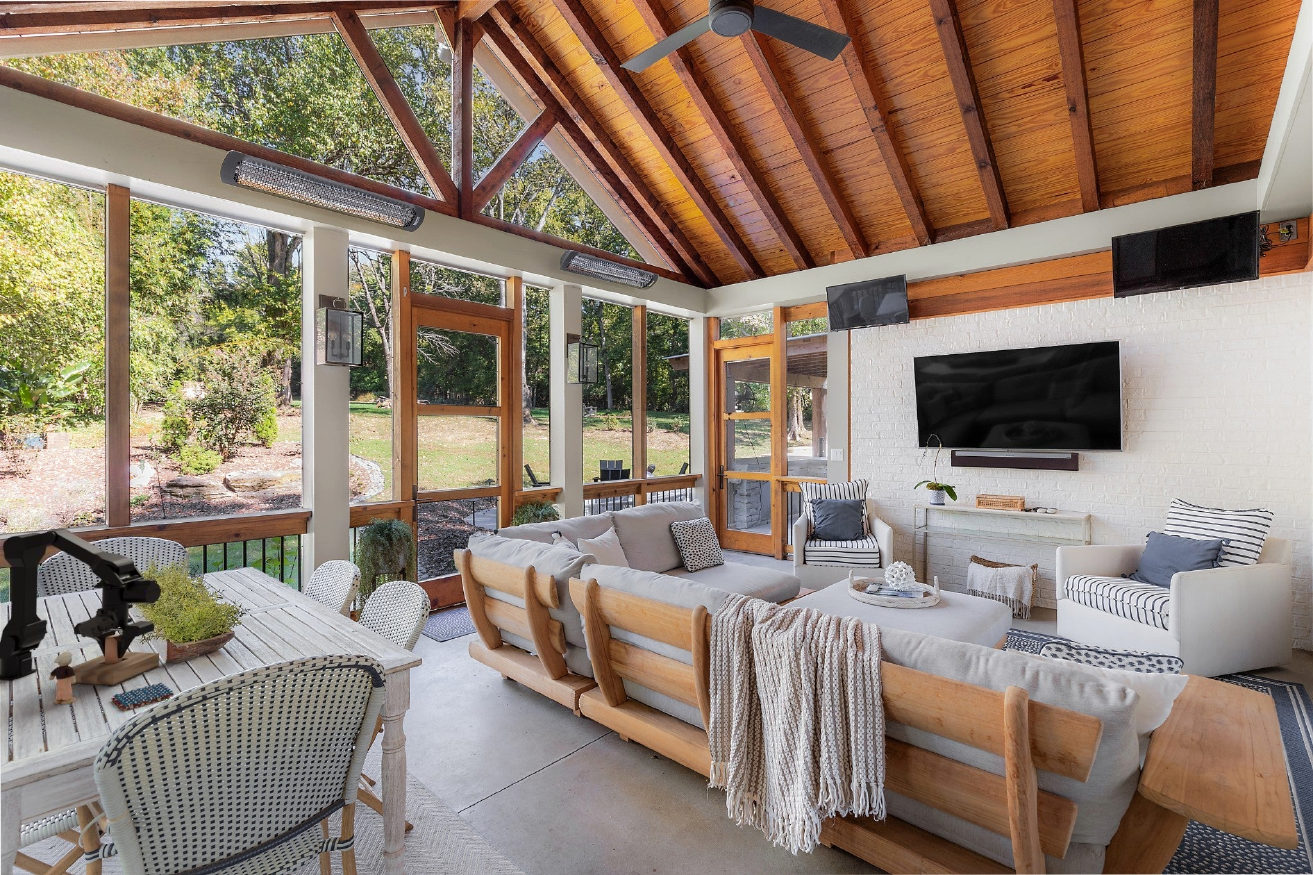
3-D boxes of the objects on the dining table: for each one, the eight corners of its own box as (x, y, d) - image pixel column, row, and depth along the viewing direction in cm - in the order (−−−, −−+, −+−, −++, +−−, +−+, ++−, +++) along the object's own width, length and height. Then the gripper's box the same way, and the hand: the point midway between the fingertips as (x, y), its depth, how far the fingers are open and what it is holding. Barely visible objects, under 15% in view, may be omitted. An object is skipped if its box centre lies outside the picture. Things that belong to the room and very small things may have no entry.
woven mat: (109, 702, 152) (109, 694, 152) (161, 688, 161) (161, 681, 161) (122, 714, 146) (122, 706, 146) (174, 699, 155) (175, 691, 155)
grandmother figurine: (85, 698, 153) (87, 649, 153) (71, 705, 149) (72, 655, 149) (55, 697, 152) (56, 649, 152) (39, 704, 149) (41, 654, 149)
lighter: (197, 654, 184) (198, 622, 184) (200, 657, 182) (201, 625, 182) (164, 661, 178) (165, 628, 178) (167, 664, 176) (168, 631, 176)
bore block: (64, 684, 160) (64, 669, 160) (113, 664, 174) (113, 651, 174) (113, 686, 160) (113, 671, 160) (158, 666, 174) (159, 653, 174)
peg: (113, 662, 169) (114, 634, 169) (125, 662, 169) (126, 634, 169) (100, 666, 165) (101, 638, 165) (113, 667, 165) (114, 639, 165)
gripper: (54, 609, 160) (52, 667, 159) (120, 612, 159) (118, 670, 159) (94, 598, 171) (93, 652, 171) (156, 601, 170) (154, 655, 170)
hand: (113, 657), depth 167 cm, fingers closed on peg, 3 cm apart
